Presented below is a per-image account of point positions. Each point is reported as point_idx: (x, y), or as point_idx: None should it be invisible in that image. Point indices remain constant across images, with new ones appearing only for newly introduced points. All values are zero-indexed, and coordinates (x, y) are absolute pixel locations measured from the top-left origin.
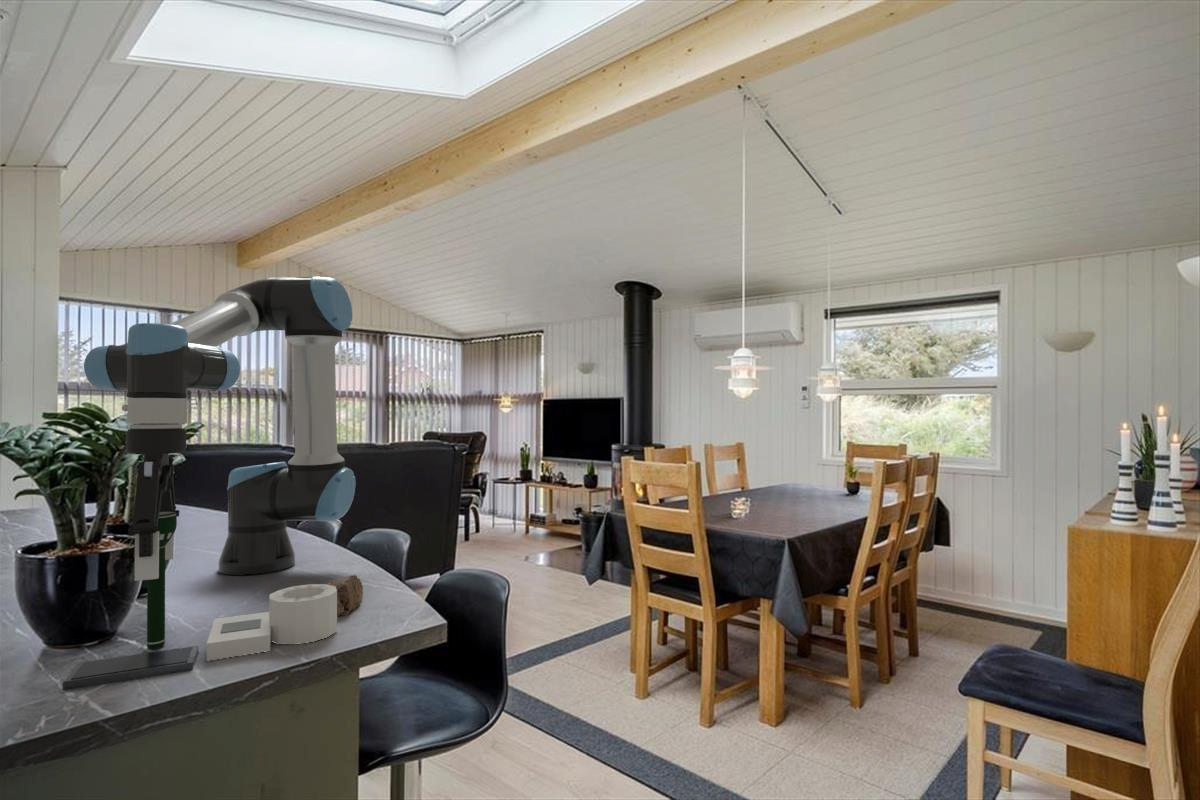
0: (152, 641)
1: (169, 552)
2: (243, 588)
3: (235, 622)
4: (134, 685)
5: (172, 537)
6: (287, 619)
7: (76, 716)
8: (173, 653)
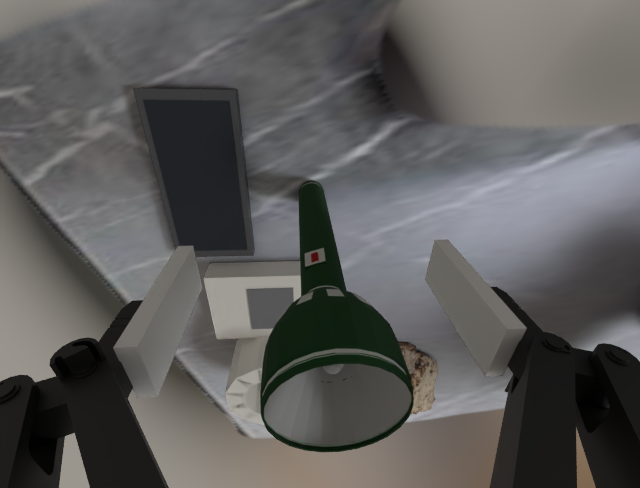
0: (299, 192)
1: (434, 285)
2: (576, 273)
3: (292, 301)
4: (136, 190)
5: (451, 321)
6: (234, 363)
7: (23, 138)
8: (223, 230)
